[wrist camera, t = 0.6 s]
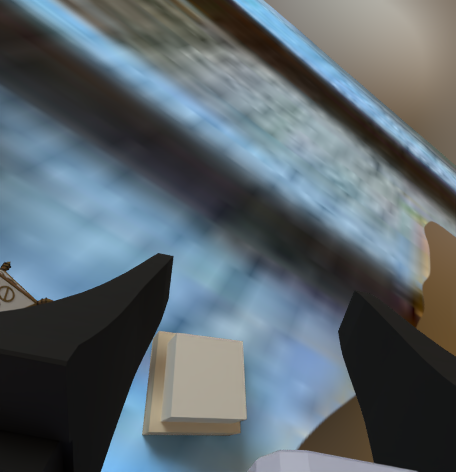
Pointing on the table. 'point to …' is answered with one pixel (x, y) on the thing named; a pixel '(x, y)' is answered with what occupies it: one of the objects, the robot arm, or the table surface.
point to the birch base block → (155, 399)
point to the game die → (14, 293)
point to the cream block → (204, 380)
